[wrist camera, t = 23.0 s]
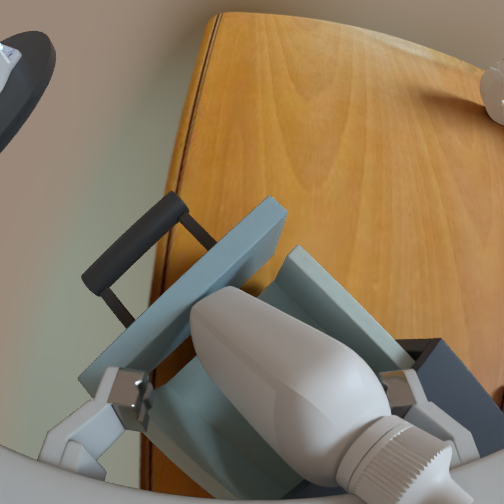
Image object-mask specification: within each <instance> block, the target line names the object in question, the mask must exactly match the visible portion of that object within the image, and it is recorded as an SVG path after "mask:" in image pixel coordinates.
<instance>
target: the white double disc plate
mask: <svg viewBox="0 0 504 504" xmlns="http://www.w3.org/2000/svg"><path fill="white" fill-rule="evenodd" d="M495 64H496V66H497V68H498V70H497V69H495V68H493V67H489V68H488V70H487V71H486V72H485V73H484V75H483V76H482V78H481V81H480V94H481V97H482V100H483V102H484V105H485V108H486V111H487V113H488V114H489V116H490V117H491V118H492V119H493V120H494V121H495V122H497V123H499V124H501V125H503V126H504V101H503V100H504V59H503V60H500V61H498V62H496V63H495ZM502 99H503V100H502Z"/></svg>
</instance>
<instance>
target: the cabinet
mask: <svg viewBox="0 0 504 504" xmlns="http://www.w3.org/2000/svg"><path fill="white" fill-rule="evenodd" d="M395 341H396V342H397V343H398V344H399V345H400V346H401V347H402V348H403V349H404V350H405V351H406V352H407V353H408V354H409V355H410V356H411V358H412V359H413V360H414V361H415V363H414V365H413V366H412V367H411V368H410V369H414V370H415V372H416V374H417V376H418V379H419V381H420V383H421V386H422V388H423V391H424V393H425V395H426V398H427V400H428V402H430V401H431V402H433V403H434V404H435V405H436V406H438V407H439V408H440V409H442V410H443V411H444V412H445V413H447V414H448V415H449V416H450V417H452V418H453V419H454V420H456V421H457V422H458V423H459V424H461V425H462V426H463V427H464V428H466V429H467V430H468V431H470V432H471V434H472V437H473V439H474V442H475V445H476V447H477V450H478V453H479V455H480V458H483V457H485V456H488V455H490V454H492V453H495V452H497V451H499V450H502V449H504V414H503V412H502V411H501V410H500V409H499V407H498V406H497V405H496V403H495V402H494V401H493V400H492V398H491V397H490V396H489V394H488V393H487V392H486V391H485V389H484V388H483V387H482V386H481V384H480V383H479V382H478V381H477V379H476V378H475V377H474V376H473V375H472V373H471V372H470V371H469V370H468V369H467V367H466V366H465V365H464V364H463V363H462V361H461V360H460V359H459V358H458V357H457V356H456V354H455V353H454V352H453V351H452V350H451V349H450V347H449V346H448V345H447V344H446V343H445V342H444V341H443V339H442V338H433V339H401V340H395ZM341 494H348V492H347V491H345V490H344V489H343V488H342V487H341V486H337V487H324V486H319V485H316V484H313V483H311V482H309V481H307V480H306V479H304V480H303V481H302V482H300V483H299V484H298V485H297V486H296V487H294V488H293V489H292V490H291V491H289V492H288V493H287V494H286V495H284V496H283V497H282V498H281V499H279V500H286V499H303V498H315V497H325V496H334V495H341Z"/></svg>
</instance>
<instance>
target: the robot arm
mask: <svg viewBox="0 0 504 504" xmlns="http://www.w3.org/2000/svg"><path fill="white" fill-rule="evenodd" d="M21 56H22V54H21V53H20V51H19V50H17V49H14V48H11V47H8V46H6V45H3V44H0V93H1V92H2V90H3V88H4V86H5V84H6V82H7V80H8V78H9V75H10V73H11V71H12V69H13V68H14V66H15V65H16V64H17V62H18V61H19V60H20V58H21ZM375 375H376V377H377V378H378V380H379V382H380V383H381V385H382V387H383V389H384V392H385V394H386V396H387V399H388V402H389V406H390V410H391V415H396V416H398V417H400V418H402V419H403V420H405V421H407V422H409V423H411V424H412V425H414V426H416V427H418V428H419V429H421V430H423V431H425V432H427V433H429V434H431V435H432V436H434V437H436V438H438V439H440V440H442V441H444V442H446V443H448V444H449V445H451V447H452V457H451V461H450V466H449V473H450V476H451V478H452V479H453V480H454V482H455V483H456V484H458V485H459V486H460V487H461V488H462V489H463V490H464V491H465V492H466V493H468V494H469V495H470V496H471V497H472V498H473V499H474V500H473V502H472V503H471V504H504V449H502V450H499V451H497V452H495V453H492V454H490V455H488V456H485V457H483V458H480V455H479V453H478V450H477V447H476V445H475V442H474V439H473V437H472V434H471V432H470V431H468V430H467V429H466V428H464V427H463V426H462V425H461V424H459V423H458V422H457V421H456V420H454V419H453V418H452V417H450V416H449V415H448V414H447V413H445V412H444V411H443V410H442V409H440V408H439V407H438V406H436V405H435V404H434V403H433V402H431V401H430V402H428V400H427V398H426V395H425V393H424V391H423V388H422V386H421V383H420V381H419V379H418V376H417V374H416V372H415V370H414V369H407V370H396V371H388V372H379V373H376V374H375ZM149 378H150V376H149V373H148V371H143V370H136V369H129V368H122V367H116V366H109V365H108V366H107V367H106V369H105V371H104V373H103V376H102V378H101V381H100V384H99V386H98V389H97V391H96V394H95V397H94V400H89V401H88V402H86V403H85V404H84V405H82V406H81V407H80V408H78V409H77V410H76V411H74V412H73V413H72V414H70V415H69V416H68V417H67V418H65V419H64V420H63V421H61V422H60V423H59V424H57V425H56V426H55V427H53V428H52V429H51V430H50V431H48V432H47V435H46V438H45V440H44V443H43V446H42V448H41V451H40V453H39V456H38V459H37V460H35V459H33V458H30V457H28V456H25V455H23V454H20V453H18V452H16V451H13V450H11V449H9V448H7V447H5V446H2V445H0V504H367V503H366V502H365V501H364V500H362V499H361V498H360V497H359V496H357V495H356V494H353V493H348V494H341V495H334V496H325V497H315V498H303V499H286V500H228V499H211V498H199V497H189V496H180V495H172V494H165V493H159V492H153V491H147V490H141V489H136V488H131V487H126V486H121V485H117V484H113V483H109V482H105V476H106V471H105V469H104V468H103V467H102V466H101V465H100V464H99V463H98V462H97V459H98V458H99V457H100V456H101V455H102V454H103V453H104V452H105V451H106V450H107V449H108V448H109V447H110V446H111V445H112V444H113V443H114V442H115V441H116V440H117V439H118V438H119V436H121V435H122V433H123V432H124V431H125V429H126V430H133V431H140V432H147V428H148V424H149V419H150V417H149V414H148V411H149V410H150V409H151V408H152V406H153V402H154V389H153V385H152V384H151V383H150V382H149Z"/></svg>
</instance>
